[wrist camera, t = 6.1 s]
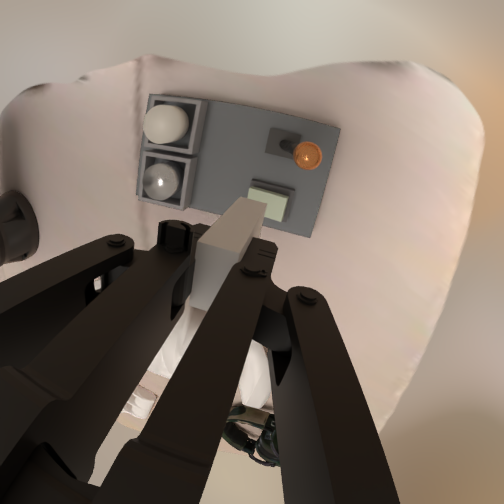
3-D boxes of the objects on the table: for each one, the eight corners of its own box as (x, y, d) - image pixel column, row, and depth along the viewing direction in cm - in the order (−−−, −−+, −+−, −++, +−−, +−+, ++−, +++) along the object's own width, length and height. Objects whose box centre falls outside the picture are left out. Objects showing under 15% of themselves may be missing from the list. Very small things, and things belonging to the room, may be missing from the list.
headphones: (320, 431, 49) (225, 398, 53) (294, 485, 45) (201, 453, 49) (312, 419, 62) (234, 392, 65) (291, 465, 57) (214, 438, 61)
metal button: (151, 191, 37) (140, 196, 34) (155, 158, 35) (144, 161, 32) (182, 197, 37) (172, 203, 34) (187, 164, 35) (177, 167, 32)
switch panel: (146, 190, 41) (126, 199, 36) (159, 95, 35) (139, 92, 30) (309, 230, 40) (310, 245, 35) (337, 128, 34) (343, 128, 29)
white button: (152, 139, 33) (140, 141, 30) (158, 104, 31) (146, 103, 28) (185, 144, 32) (175, 146, 30) (192, 108, 30) (182, 106, 28)
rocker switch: (247, 208, 35) (244, 210, 34) (252, 186, 34) (249, 187, 33) (283, 219, 35) (280, 221, 33) (288, 196, 33) (286, 198, 32)
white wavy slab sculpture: (297, 315, 45) (293, 362, 36) (265, 379, 53) (257, 423, 43) (99, 245, 47) (61, 272, 37) (100, 316, 54) (71, 347, 44)
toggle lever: (269, 152, 32) (295, 169, 24) (274, 130, 31) (302, 140, 23) (291, 157, 33) (322, 175, 25) (296, 135, 32) (330, 147, 24)
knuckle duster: (146, 417, 68) (100, 390, 67) (161, 387, 60) (106, 355, 59) (142, 426, 65) (95, 398, 64) (156, 398, 57) (99, 365, 56)
